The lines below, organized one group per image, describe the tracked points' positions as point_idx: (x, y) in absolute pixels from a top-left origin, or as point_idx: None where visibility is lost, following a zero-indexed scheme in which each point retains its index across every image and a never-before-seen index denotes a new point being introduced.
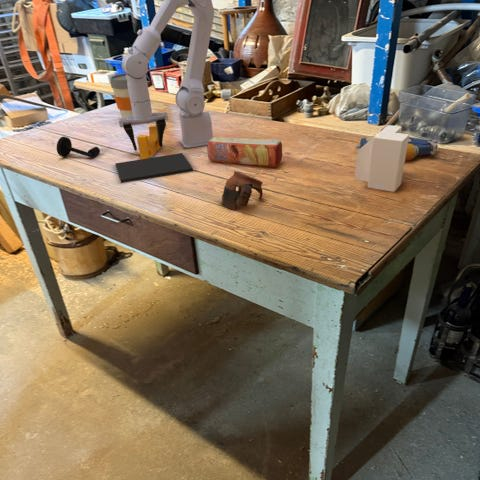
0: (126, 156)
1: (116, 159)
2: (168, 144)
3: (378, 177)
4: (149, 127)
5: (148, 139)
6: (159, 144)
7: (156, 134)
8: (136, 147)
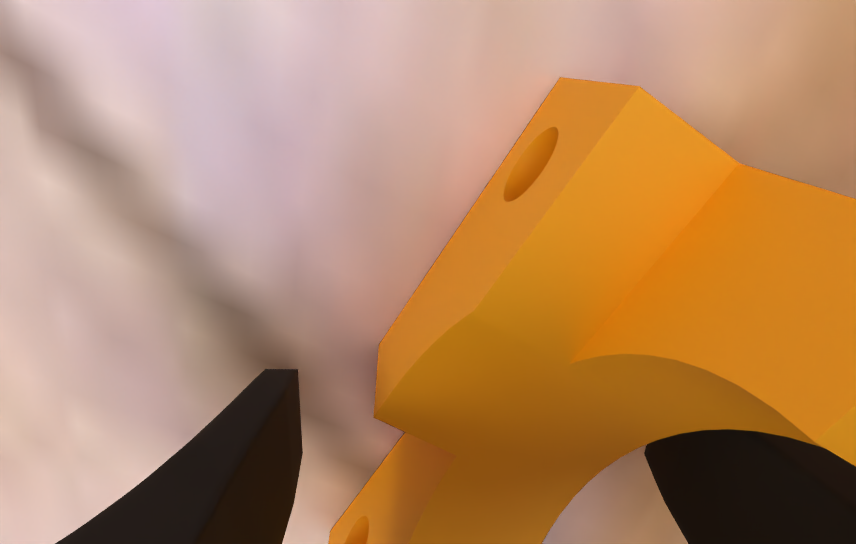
0: (155, 380)
1: (19, 428)
2: (847, 162)
3: None
4: (816, 437)
5: (563, 362)
6: None
7: (779, 433)
8: (292, 500)
